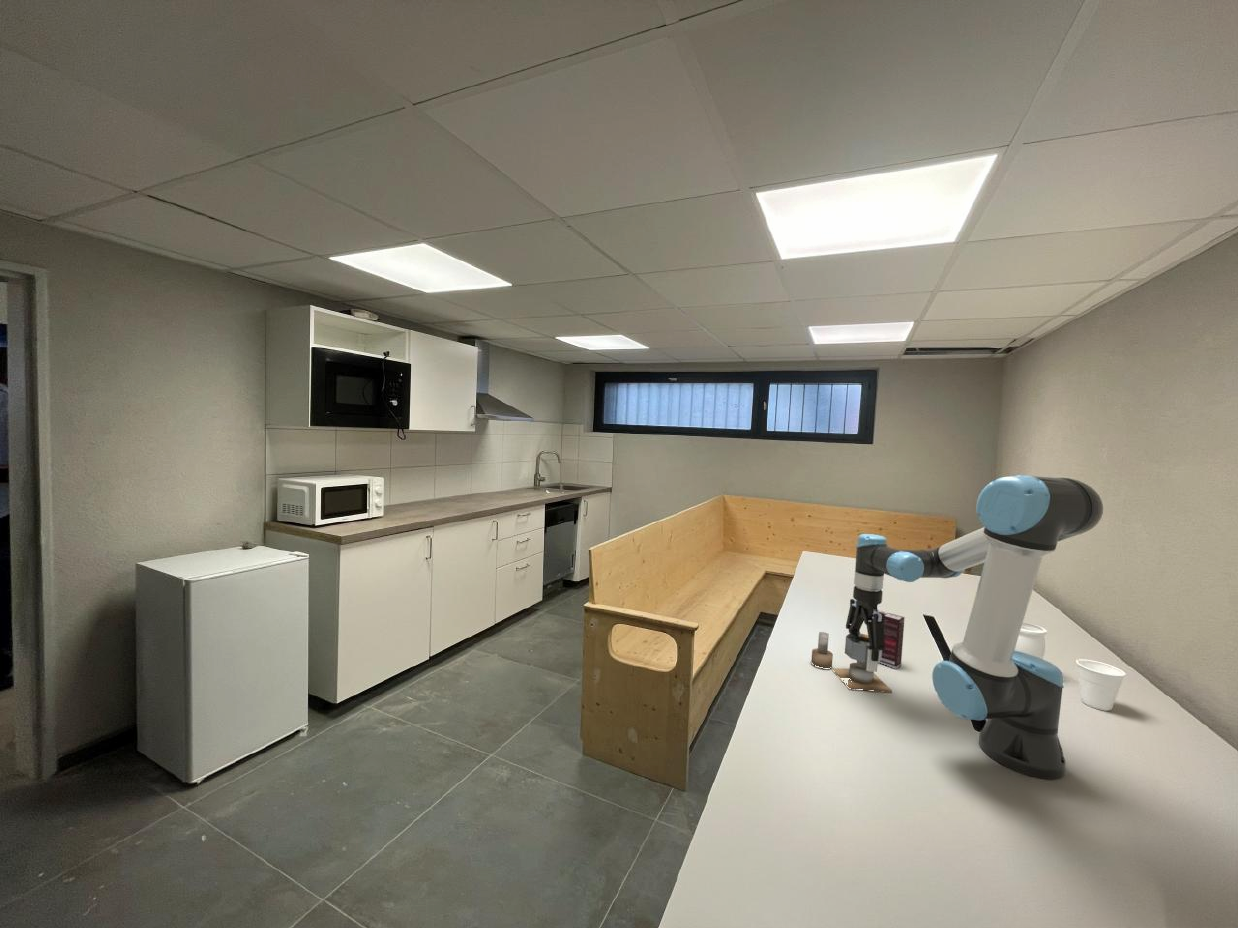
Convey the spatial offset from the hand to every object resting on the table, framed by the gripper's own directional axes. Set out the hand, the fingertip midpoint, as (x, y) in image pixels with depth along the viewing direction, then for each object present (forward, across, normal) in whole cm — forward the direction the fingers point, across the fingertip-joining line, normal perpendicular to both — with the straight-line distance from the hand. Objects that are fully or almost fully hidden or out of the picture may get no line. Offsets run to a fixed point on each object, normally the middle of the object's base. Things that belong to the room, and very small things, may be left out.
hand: (862, 662), depth 142 cm
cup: (+6, -10, -62) cm, 63 cm away
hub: (+5, 0, 0) cm, 5 cm away
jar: (+6, +9, -58) cm, 59 cm away
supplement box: (+6, +13, -15) cm, 21 cm away
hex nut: (-2, 0, 0) cm, 2 cm away
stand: (+5, +10, +7) cm, 13 cm away
